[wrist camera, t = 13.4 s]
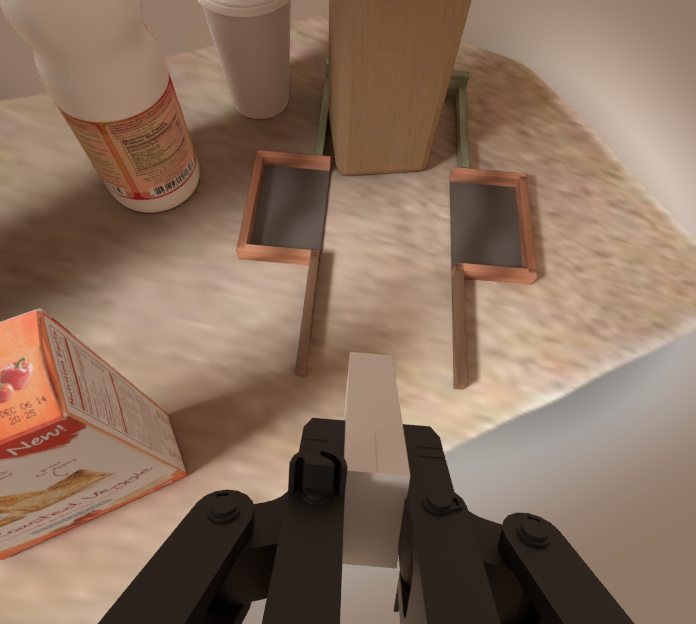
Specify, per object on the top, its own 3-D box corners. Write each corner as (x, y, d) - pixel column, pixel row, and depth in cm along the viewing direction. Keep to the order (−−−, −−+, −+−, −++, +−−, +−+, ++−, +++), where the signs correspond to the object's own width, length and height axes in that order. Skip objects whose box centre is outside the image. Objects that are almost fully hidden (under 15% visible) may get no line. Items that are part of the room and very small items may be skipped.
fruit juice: (97, 210, 49) (-144, -143, 24) (125, 141, 53) (-56, -224, 28) (190, 220, 49) (47, -123, 24) (210, 150, 53) (106, -207, 28)
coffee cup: (295, 66, 59) (286, -75, 46) (308, 124, 55) (302, -12, 42) (215, 75, 58) (182, -67, 45) (223, 134, 54) (189, -3, 41)
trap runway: (216, 368, 43) (209, 356, 40) (275, 77, 58) (273, 54, 56) (542, 396, 43) (557, 386, 40) (512, 98, 59) (521, 76, 56)
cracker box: (5, 566, 35) (-360, 591, 17) (-8, 487, 38) (-341, 428, 19) (192, 480, 38) (65, 419, 20) (170, 411, 41) (36, 297, 22)
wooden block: (412, 108, 57) (452, -93, 39) (428, 174, 53) (481, -17, 35) (327, 112, 56) (328, -91, 38) (336, 180, 52) (342, -13, 34)
